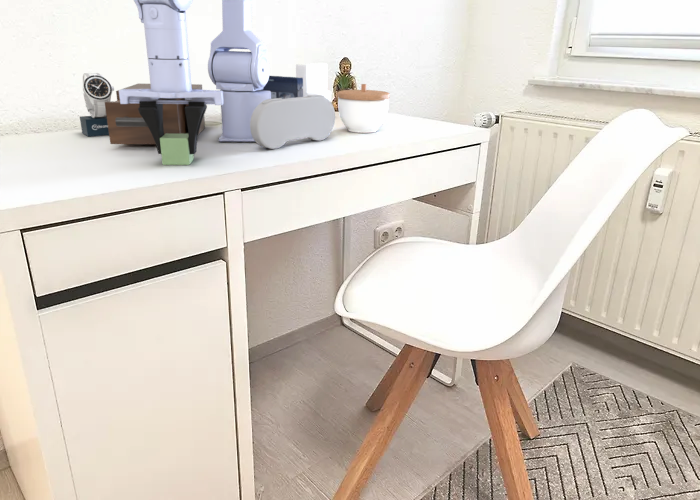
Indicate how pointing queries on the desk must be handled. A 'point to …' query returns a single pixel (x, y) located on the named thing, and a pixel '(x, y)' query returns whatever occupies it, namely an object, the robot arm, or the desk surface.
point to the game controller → (292, 120)
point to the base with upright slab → (313, 79)
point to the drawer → (142, 122)
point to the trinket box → (363, 109)
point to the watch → (95, 104)
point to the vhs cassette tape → (284, 87)
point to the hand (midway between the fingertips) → (177, 152)
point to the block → (175, 149)
